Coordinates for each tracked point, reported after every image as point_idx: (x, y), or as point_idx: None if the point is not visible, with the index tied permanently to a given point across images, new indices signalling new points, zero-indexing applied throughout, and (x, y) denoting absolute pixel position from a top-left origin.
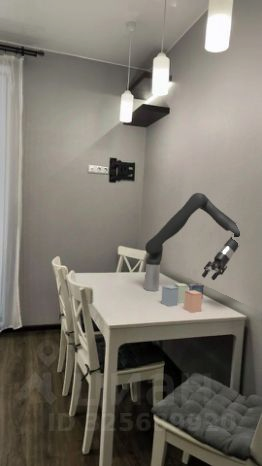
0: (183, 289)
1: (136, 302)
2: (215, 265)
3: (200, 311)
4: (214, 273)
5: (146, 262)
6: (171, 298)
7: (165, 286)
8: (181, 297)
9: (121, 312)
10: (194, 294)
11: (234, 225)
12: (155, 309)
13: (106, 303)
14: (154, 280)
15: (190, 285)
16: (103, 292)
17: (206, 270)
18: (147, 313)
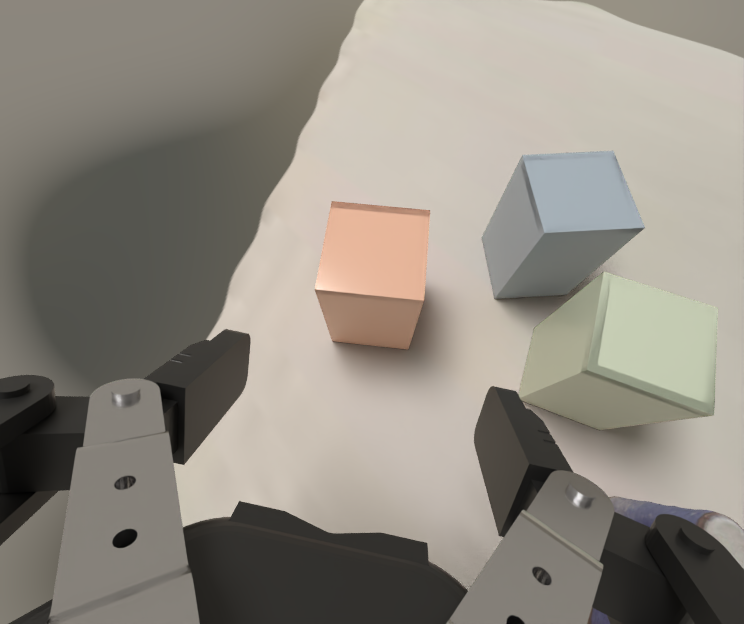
0: (576, 330)
1: (597, 140)
2: (183, 570)
3: (332, 339)
4: (188, 372)
5: None
6: (499, 219)
7: (603, 166)
8: (546, 342)
9: (474, 36)
10: (329, 219)
11: None
12: (463, 154)
13: (605, 40)
14: None
15: (708, 513)
16: None
17: (537, 490)
18: (425, 100)
